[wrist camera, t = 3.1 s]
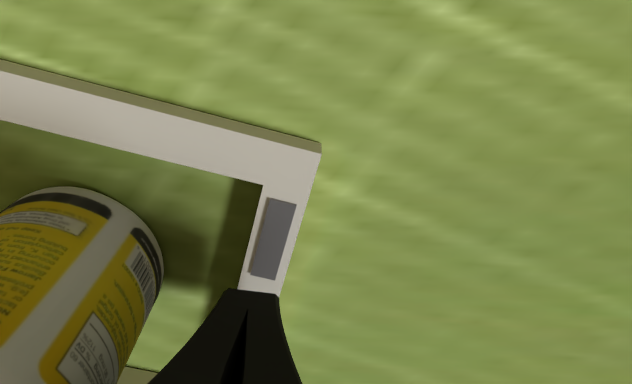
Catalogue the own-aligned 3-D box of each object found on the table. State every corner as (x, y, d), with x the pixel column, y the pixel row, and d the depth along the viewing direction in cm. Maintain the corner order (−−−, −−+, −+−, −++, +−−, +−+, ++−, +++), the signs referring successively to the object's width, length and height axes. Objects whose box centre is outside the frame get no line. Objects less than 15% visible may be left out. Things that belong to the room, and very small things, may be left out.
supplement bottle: (-31, 250, 14) (-448, 590, 6) (65, 147, 13) (-319, 421, 5) (102, 344, 15) (-105, 710, 8) (201, 261, 14) (66, 605, 6)
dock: (240, 415, 17) (236, 438, 16) (-50, 359, 16) (-71, 381, 15) (321, 143, 13) (321, 155, 12) (-70, 40, 11) (-101, 46, 11)
